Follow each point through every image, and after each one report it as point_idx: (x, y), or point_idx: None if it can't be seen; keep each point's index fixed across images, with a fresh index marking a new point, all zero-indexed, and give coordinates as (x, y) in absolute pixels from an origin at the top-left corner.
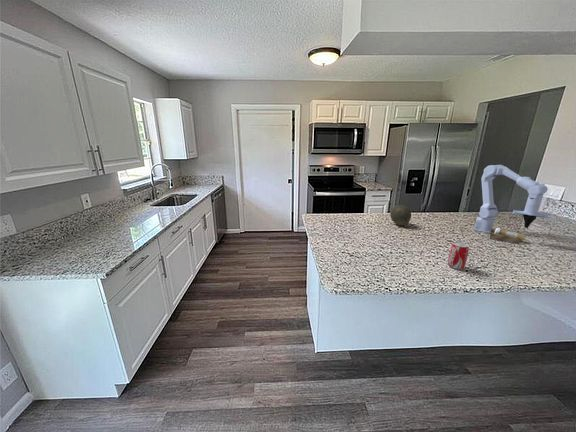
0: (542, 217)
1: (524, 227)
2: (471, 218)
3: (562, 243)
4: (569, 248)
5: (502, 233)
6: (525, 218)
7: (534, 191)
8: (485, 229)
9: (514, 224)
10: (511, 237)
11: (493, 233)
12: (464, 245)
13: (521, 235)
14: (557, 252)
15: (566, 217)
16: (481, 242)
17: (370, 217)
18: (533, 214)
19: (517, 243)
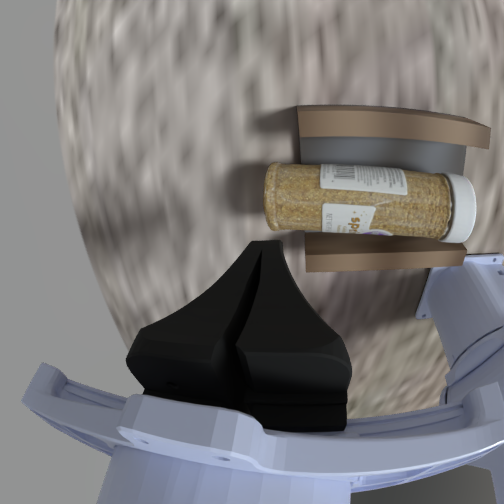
0: (86, 386)
1: (282, 244)
2: (433, 397)
3: (124, 297)
4: (88, 242)
5: (425, 174)
6: (305, 330)
7: None
8: (471, 269)
9: None
10: (362, 110)
11: (479, 140)
12: None
13: (290, 189)
14: (97, 122)
15: None
16: (490, 14)
17: None
18: (117, 427)
19: (303, 105)
